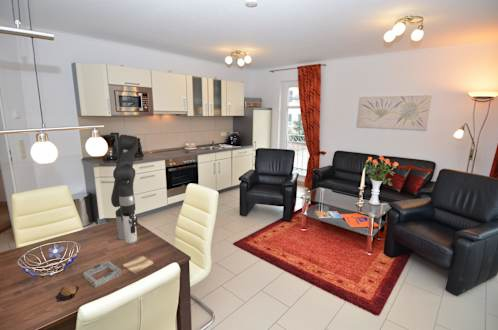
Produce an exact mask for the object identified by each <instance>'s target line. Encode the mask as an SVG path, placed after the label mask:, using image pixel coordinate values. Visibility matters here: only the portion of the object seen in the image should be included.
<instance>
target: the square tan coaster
mask: <svg viewBox="0 0 498 330" xmlns="http://www.w3.org/2000/svg"><path fill="white" fill-rule="evenodd" d="M151 265H154V262H153V260H150V259H148V258H147V257H145V256H144V255H139V256H138V257H137V256H136V258H134V259H130V260H129V261H127V262H126V263H123V264H122V267H123V268H124V269H126V270H127V271H129V272H130V273H132V274H133V275H135V274H137V273H139V272H140V271H142V270H144V269H146V268H148V267H150V266H151Z"/></svg>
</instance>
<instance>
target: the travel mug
mask: <svg viewBox="0 0 498 330" xmlns="http://www.w3.org/2000/svg"><path fill="white" fill-rule="evenodd" d="M135 211H136V210H135ZM135 211H134V212H133V214H134V216H136V213H135ZM122 216H123V225H124V235H125V240H124V243H125V244H126V245H132V244H133V245H134V244H136V243H137V242H138V235H137V234H138V233H137V232H138V231H137V226H135V233H131V228H130V224H129V223H128V220H129V221H130V222H131V221H132V220H131V219H132V218H131V219H129V213H122ZM131 224H132V223H131Z"/></svg>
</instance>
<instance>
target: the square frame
mask: <svg viewBox="0 0 498 330" xmlns="http://www.w3.org/2000/svg"><path fill="white" fill-rule="evenodd" d="M107 268H109V269H110V270H111V271H112V272H111V271H109V272H107V273H105V274H103V275H104V276H102V277H100V278H98V279H96V278H94V277H93V275H95V274H97V273H99V272H101V271H104V270H106V269H107ZM121 275H122V269H121V268H119V267H118V266H117V265H115V264H114V263H112V262H111V260H108V261H105V262H103V263H102V264H100V263H98V264H96V265H94V266H93V267H92V268H90V269H88V270H86V271H84V272H83V276H84V277H83V279H85V280H86V281H87V282H88V283H90V284H91V285H92V286H93V287H94V288H95V289H96V288H98V287H100V286H102V285H104V284H105V283H108V282H109V281H111V280H113V279H115V278H117V277H119V276H121Z"/></svg>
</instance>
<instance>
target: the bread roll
mask: <svg viewBox="0 0 498 330" xmlns="http://www.w3.org/2000/svg"><path fill="white" fill-rule="evenodd" d="M78 291H79V285H78V284H76V285H74V284H73V285H72V284H70V285H66V286H63V287H62V288H61V289H60V291H59V292H58V293H57V295H56V297H55V298H56V302H57V303H59V302H67V301H70V300H72V299H74V298H75V297H76V295H77V293H78Z"/></svg>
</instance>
